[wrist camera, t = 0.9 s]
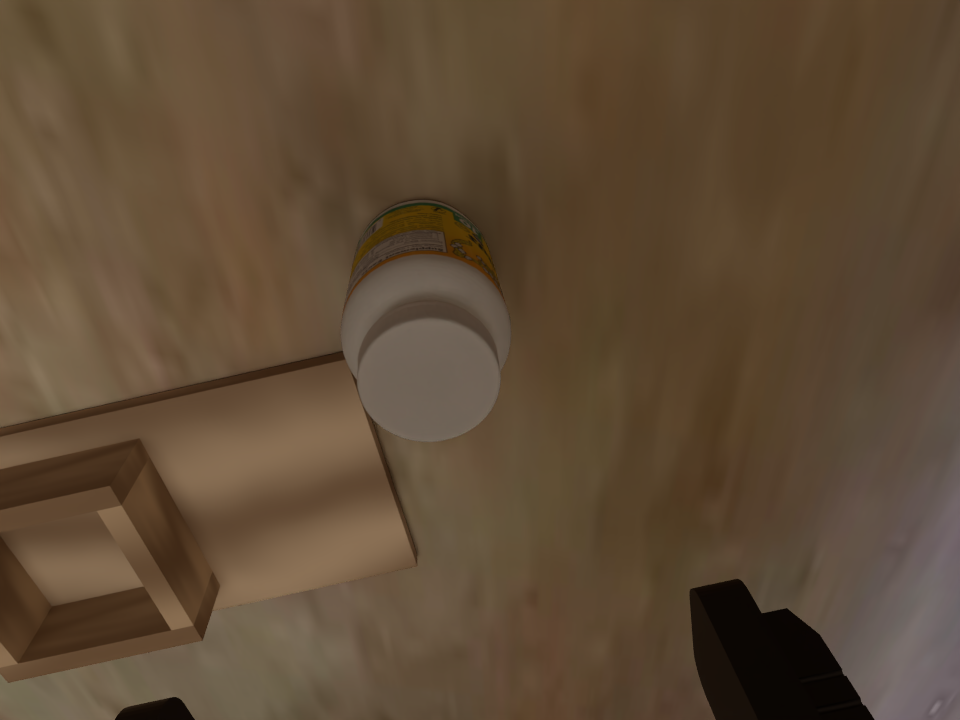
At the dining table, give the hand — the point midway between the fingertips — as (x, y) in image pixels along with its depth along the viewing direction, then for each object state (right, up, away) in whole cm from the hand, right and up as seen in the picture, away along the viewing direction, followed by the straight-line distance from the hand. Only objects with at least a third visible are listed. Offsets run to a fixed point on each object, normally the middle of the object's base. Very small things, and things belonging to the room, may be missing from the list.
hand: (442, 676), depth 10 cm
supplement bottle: (-2, +9, +17) cm, 19 cm away
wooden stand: (-14, -2, +21) cm, 25 cm away
